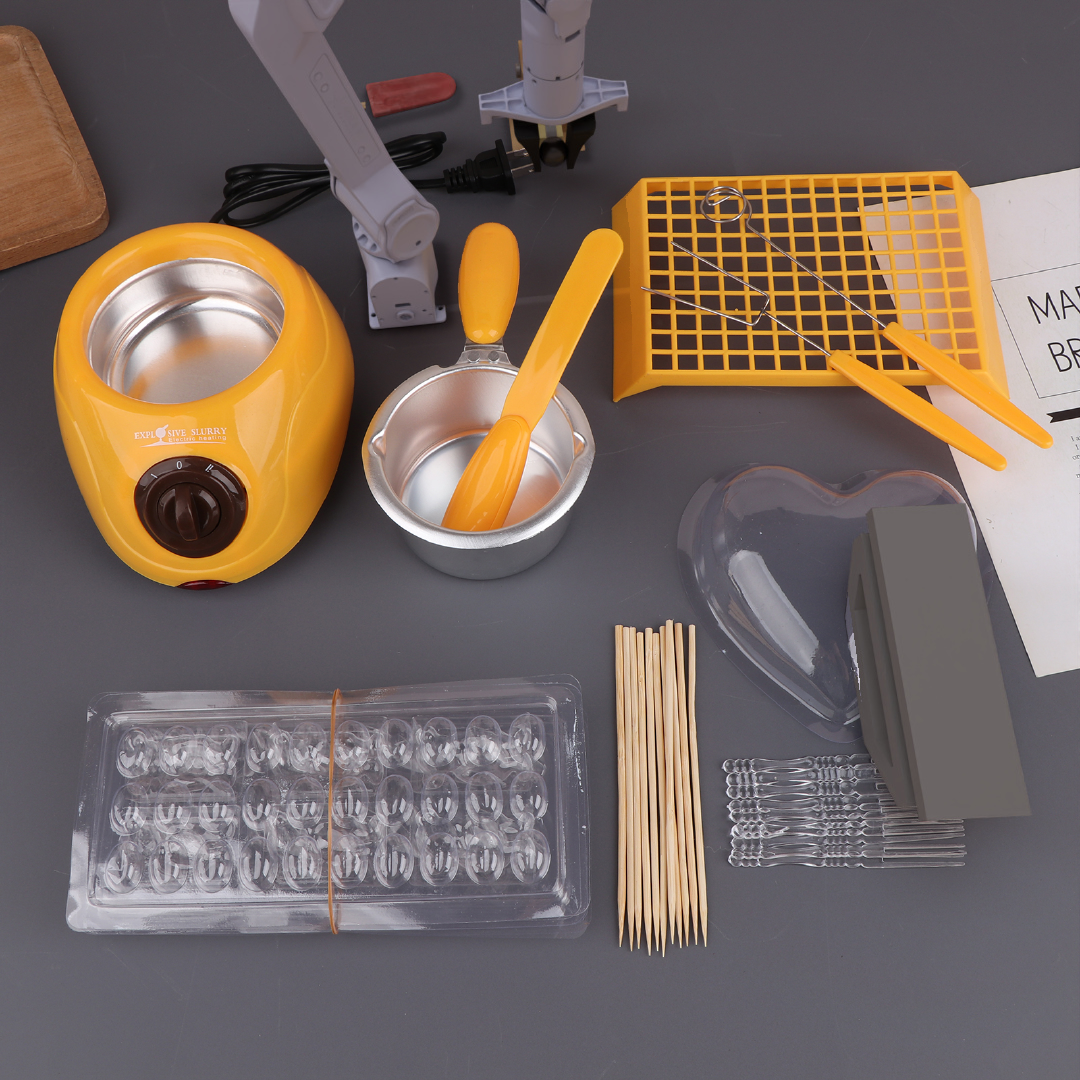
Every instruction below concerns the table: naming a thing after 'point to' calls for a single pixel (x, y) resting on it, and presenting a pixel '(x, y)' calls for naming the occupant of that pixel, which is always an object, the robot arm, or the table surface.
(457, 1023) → the table surface
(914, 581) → the grey stepped block
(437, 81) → the popsicle
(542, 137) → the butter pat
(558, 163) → the knife lever
